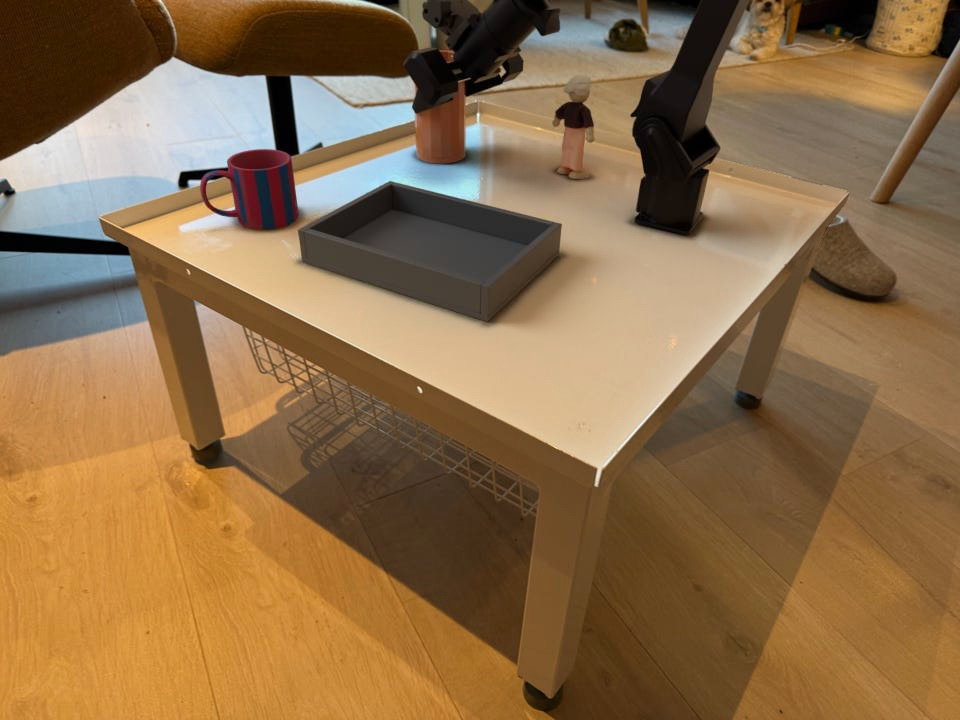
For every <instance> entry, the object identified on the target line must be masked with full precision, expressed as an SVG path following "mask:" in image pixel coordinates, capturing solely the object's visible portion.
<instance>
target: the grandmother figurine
mask: <svg viewBox="0 0 960 720" xmlns="http://www.w3.org/2000/svg"><path fill="white" fill-rule="evenodd" d="M591 86H592V78H591V76H590V75H588V74H586V73H583V72H579V73H577V74H574V75H573V76H572V77H571V78H569V80H567V83H566V84H565V87H564V88H563V92H564V93H566V94H568V97H569V99H570V100H571V101H566V102H565V103H563V104H561V105H560V106H559V107H558V108H556V110H555V112H554V113H555V114H554V118H553V120H552V122H551V123H552V124H551V125H552V126H553V127H555V128H557V127H559V126H560V124H561V121H562V120H563V126H564V131H563V136H562V143H561V158H560V167H558V169H557V172H556V173H558V174H559V175H560V174H561V175H568V177H569V178H570V179H572V180H581V179H582V180H584V179H588V178H589V177H590V174H589V171H588V170H586V169H585V168H584V155H585V153H584V152H585V141H586V142H587V143H591V144H592V143H593V142H595V140H596V138H595V124H594V120H593V117H592V111H591V109H590V108H589V107H588V106H587V105H585V104H584V103H585V102H586V101H588V99H589V97H590V93H591V92H590V91H591V90H590V88H591Z"/></svg>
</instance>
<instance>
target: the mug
mask: <svg viewBox="0 0 960 720" xmlns="http://www.w3.org/2000/svg"><path fill="white" fill-rule="evenodd" d="M226 163H227V170H211V171H208V172H206V173H205V174H203V176H202V177H201V180H200V184H199V190H200V195H201V199H202V201H203V203H204V205H205V207H206V208H207V209H208V210H210V211H211V212H213V213H215V214H216V215H219V216H221V217H226V218H236V220H237V222H238V223H239V224H240V225H241V226H242V227H244V228H246V229H250V230H256V231H271V230H277V229H282V228H286V227H288V226H290V225H292V224H294V223H295V222H296V221H297V220H298V219H299V216H300V214H299V205H298V197H297V190H296V181H295V174H294V169H293V160H292V156H291V154H289V153H288V152H285V151H283V150H279V149H271V148H257V149H249V150H244V151H240V152H237V153H234V154H232V155H231V156H229V158H228V159H227V160H226ZM214 177H224V178H226V179H227V180H229V182H230V188H231V193H232V198H233V205H234V209H232V210H224V209H220V208H218V207H216V206H215V207H214V205H213V204H211V202H210V201H209V199H208V195H207V185H208V182H209V181H210V180H211V179H213V178H214Z"/></svg>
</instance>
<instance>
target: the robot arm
mask: <svg viewBox="0 0 960 720" xmlns="http://www.w3.org/2000/svg"><path fill="white" fill-rule="evenodd" d="M750 1H751V0H700V1H699V3H698V6H697V8H696V11H695V13H694V15H693V18H692V20H691V22H690V24H689V27H688V29H687V32H686V33H685V36H684V39H683V41H682V43H681V46H680V48H679V50H678V52H677V55H676V57H675V59H674V62H673V64H672V66H671V68H670V69H668V70H666V71H664V72H662V73H659V74H657V75H655V76H652V77H650V78H648V79H646V80H645V82H644V84H643V86H642V89H641V93H640V98H639V102H638V104H637V106H636V107H635V109H634V110H633V111H632V112H631V113H630V115H629V117H630V118H634V121H633V124H632V129H631V135H632V137H633V140H634V143H635V145H636V146H637V148H638V149H639V151H640V158H641V163H642V164H641V165H642V169H643V174H644V176H643V177H641V178H640V183H639V189H638V194H637V199H636V200H637V201H636V206H635V212H636V213H638V214H637V215H636V216H635V217H634V220H633V223H635V224H639V225H642V226H647V227H651V228H654V229H655V228H656V229H660V230H664V231H668V232H671V233H675V234H681V235H684V236H685V235H686V236H689V235H690V234H691V233H692V231H694V229H695V227H696V226H697V225H698V224H699V223H700V221H701V220H702V218H703V216H704V212H703V211H701V210H702V206H703V202H704V196H705V192H706V189H707V184H708V179H709V174H710V169H708V168H706V167H707V166H708V165H711V164H713V162H714V160H715V159H716V157H717V156H718V155H719V153H720V151H721V145H720V144H719V142H718V141H717V139H716V137H715V136H714V134H713V132H712V131H711V130H710V128H709V127H708V125H707V120H708V119H707V118H708V117H709V113H710V109H711V105H712V101H713V94H714V93H713V92H714V83H715V76H716V73H717V71H718V69H719V67H720V64H721V62H722V61H723V58H724V56H725V54H726V52H727V50H728V47H729V45H730V43H731V41H732V39H733V37H734V35H735V32H736V31H737V28H738V26H739V24H740V22H741V20H742V17H743V16H744V13H745V12H746V9H747V7H748V5H749V3H750ZM560 13H561V8H560V7H554V6H552V5H551V4H550V2H549V1H548V0H491V2H490V3H489V4H488V5H487V6H486V7H485V9H484V10H483V11H482V12H481V11H480V9H478V7H477V6H475V5H474V3H472V2H471V1H470V0H426V1H423V2H422V12H421V14H422V18H423V20H424V21H425V22H426V23H427V24H429V25H430V26H431V27H432V28H434V29H438V30H439V31H440V32H441V33H442V34H444V35H445V36H447V38H446V40H444V43H445V45H446V46H447V48H448V50H449V51H453V52H454V53H453V55H452V56H451V57H452V59H453V62H449V63H447V62H446V60H445V59H444V57H443V55H442V54H441V52H440V51H441V50H440V49H439V48H436V47H432V46H429V47H425V48H421V49H417V50H412V51H411V52H410V53H409V54H408V56H407V57H406V58H405V60H404V61H403V68H404V69H405V71H406V73H407V74H408V76H409V78H410V79H411V80H412V82H414V84H415V85H416V87H417V88H418V89H417V92H416V95H415V98H414V97H413V102H412V104H411V109H412V111H413V112H414V114H415V113H416V114H418V113H421V112H423V111H426V110H429V109H431V108H434V107H437V106H439V105H442V104H445V103H448V102H450V101H453V100H454V99H453V96H454V95H455V94H456V93H457V92H458V82H462V81H465V80H466V98H468V97H471V96H474V95H477V94H479V93H482V92H485V91H487V90H490V89H493V88H495V87H498V86H501V85H503V84H504V83H507V82H510V81H514V80H516V78H517V77H519V76H520V74H522V73H523V71H524V62H525V61H524V59H523V57H522V56H521V54H520V53H521V52H522V49H521V48H520V46H521V45H522V44H523V43H524V42H525V41H526V40H527V39H528V38H529V36H531V34H532V33H533V32H535V30H536V31H537V32H538V34H539V35H540V36H541V37H545V36H548V35H553V34H556V33H559V32H560V31H561V20H560ZM439 50H440V51H439ZM501 66H502V68H503V70H504V71H505V72H504V73H503V74H502V75H501V74H500V73H501V72H502V69H501Z"/></svg>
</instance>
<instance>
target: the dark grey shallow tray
mask: <svg viewBox="0 0 960 720" xmlns="http://www.w3.org/2000/svg"><path fill="white" fill-rule="evenodd" d="M562 227H563V224H562V223H560V222H555V221H553V220H548V219H545V218H544V219H543V218H541V217H537V216H533V215H528V214H524V213H520V212H516V211H513V210H509V209H504V208H502V207H501V208H500V207H498V206H497V207H496V206H492V205H488V204H484V203H480V202H476V201H472V200H468V199H464V198H460V197H456V196H452V195H448V194H444V193H440V192H436V191H432V190H428V189H424V188H421V187H420V188H419V187H416V186H412V185H408V184H403V183H400V182H395V181H393V180H389V181H387V182H385V183H383V184H381V185H379V186H378V187H376V188H373V189H372V190H369V191H368V192H366V193H363V194H362V195H360V196H358V197H357V198H354V199H353V200H350V201H349V202H347V203H345V204H343V205H341V206H340V207H338V208H336V209H334V210H332V211H330V212H328V213H326V214H324V215H322V216H320V217H319V218H316V219H315V220H313V221H311V222H309V223H307V224H305V225H303V226H302V227H299V228H298V229H297V233H298V240H299V241H298V242H299V249H300V255H301V257H300V258H301V262H302V263H305V264H308V265H311V266H314V267H317V268H319V269H323V270H326V271H328V272H329V271H330V272H333V273H336V274H337V275H338V274H339V275H341V276H345V277H348V278H351V279H354V280H357V281H359V282H360V281H361V282H363V283H366V284H370V285H372V286H375V287H378V288H382V289H385V290H388V291H390V292H391V291H392V292H393V293H397V294H400V295H403V296H406V297H410V298H412V299H416V300H419V301H422V302H425V303H428V304H432V305H435V306H437V307H441V308H443V309H447V310H449V311H452V312H456V313H459V314H461V315H462V314H463V315H466V316H469V317H471V318H474V319H478V320H481V321H483V322H487V323H488V322H489V321H490V320H491V319H493V317H494V316H496V315H497V313H499V312H500V311H501V310H502V309H503V308H505V306H506V305H508V303H509V302H510V301H511V300H513V299H514V298H515V297H516V296H517V295H518V294H519V293H520V292H521V291H523V289H524V288H525V287H526V286H528V285H529V284H530V283H531V282H532V281H533V280H534V279H535V278H536V277H537V276H538V275H539V274H540V273H541V272H542V271H544V269H546V268H547V267H548V266H549V265H550V264H551V263H552V262H553V261H555V259H557V258H558V257H559V255H560V247H561V239H562V238H561V237H562V229H563V228H562Z"/></svg>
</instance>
